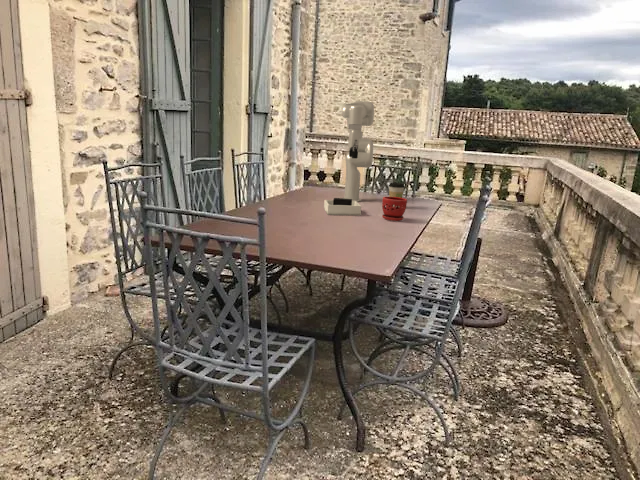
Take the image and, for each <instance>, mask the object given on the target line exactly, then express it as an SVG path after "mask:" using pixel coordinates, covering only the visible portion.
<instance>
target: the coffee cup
mask: <svg viewBox="0 0 640 480" xmlns="http://www.w3.org/2000/svg"><path fill="white" fill-rule="evenodd" d="M388 187H389V188H388V189H389V192H388V193H389V195H388V197H399V198H403V195H404V189H405V187H406V186H405V184H404V183H403V182H396V181H395V182H391V181H390V183H389V185H388ZM393 207H394V205H393ZM396 207H397V206H396ZM398 207H399V206H398Z"/></svg>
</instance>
